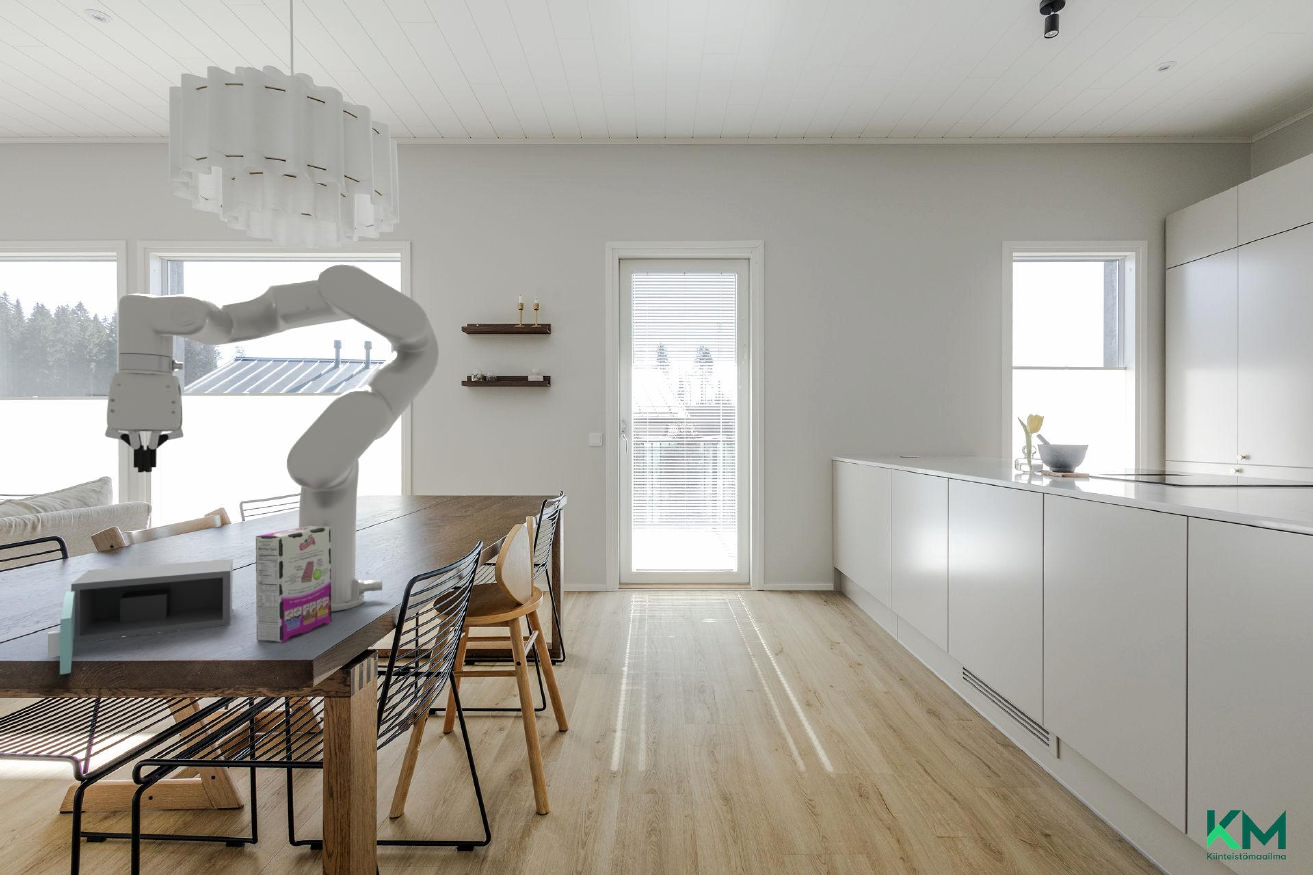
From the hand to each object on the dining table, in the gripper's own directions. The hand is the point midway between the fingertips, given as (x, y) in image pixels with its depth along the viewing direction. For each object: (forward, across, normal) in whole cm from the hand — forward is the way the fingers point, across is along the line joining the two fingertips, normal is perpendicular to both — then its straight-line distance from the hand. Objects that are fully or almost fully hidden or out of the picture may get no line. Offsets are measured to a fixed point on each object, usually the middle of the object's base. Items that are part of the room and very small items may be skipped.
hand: (145, 471), depth 113 cm
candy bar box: (+25, -22, +24) cm, 41 cm away
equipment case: (+25, -3, +8) cm, 27 cm away
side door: (+24, +6, +24) cm, 35 cm away
